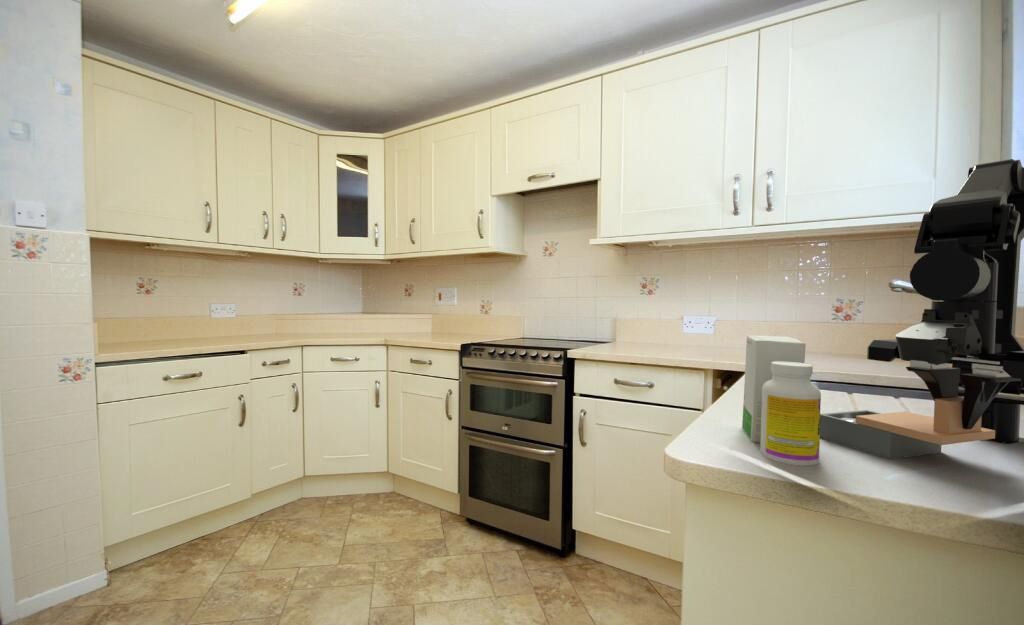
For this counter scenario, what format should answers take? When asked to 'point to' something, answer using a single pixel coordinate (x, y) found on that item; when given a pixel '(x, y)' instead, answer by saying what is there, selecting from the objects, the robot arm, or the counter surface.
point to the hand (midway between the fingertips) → (957, 426)
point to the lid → (930, 424)
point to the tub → (871, 437)
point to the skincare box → (764, 374)
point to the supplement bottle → (790, 415)
